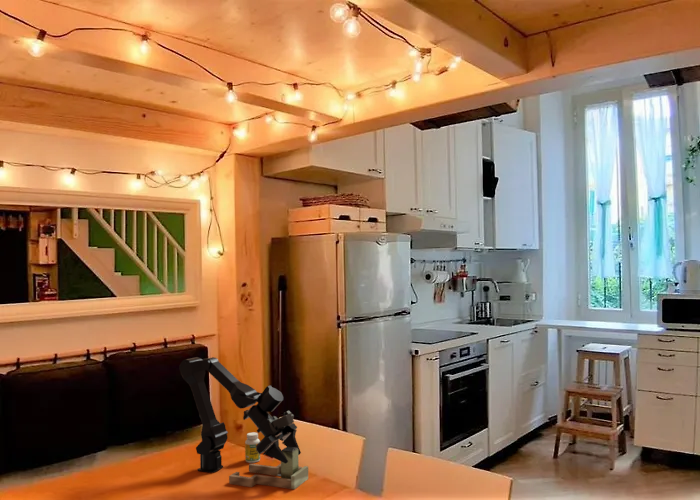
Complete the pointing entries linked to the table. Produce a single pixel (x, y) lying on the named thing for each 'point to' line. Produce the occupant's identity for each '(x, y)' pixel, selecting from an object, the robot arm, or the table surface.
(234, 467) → the table surface
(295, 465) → the olive tin
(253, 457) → the supplement bottle
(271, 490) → the table surface
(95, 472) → the table surface
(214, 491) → the table surface
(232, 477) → the trap lane
